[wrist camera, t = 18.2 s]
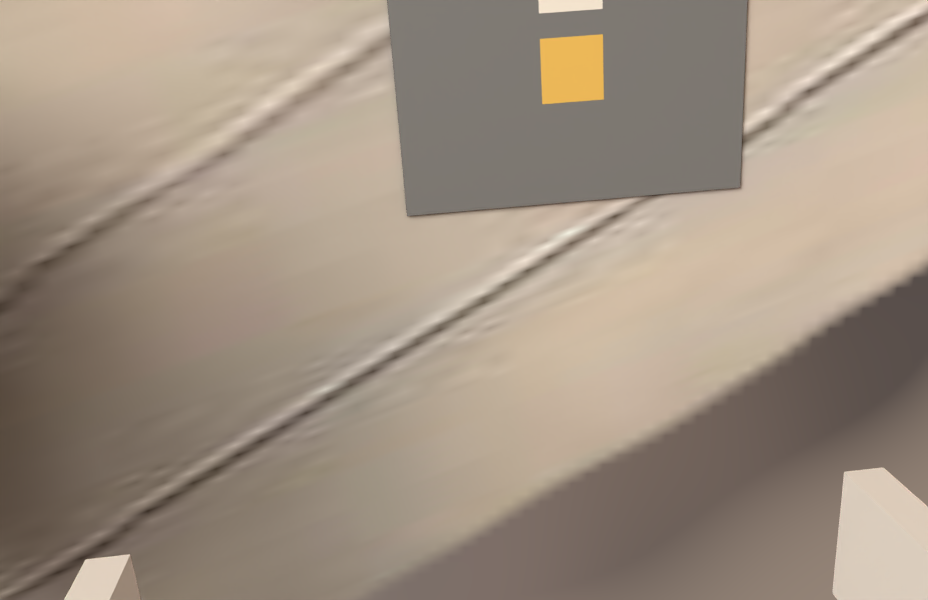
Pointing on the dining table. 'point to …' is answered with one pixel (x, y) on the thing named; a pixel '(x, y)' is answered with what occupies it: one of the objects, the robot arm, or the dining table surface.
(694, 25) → the mat
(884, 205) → the dining table surface
